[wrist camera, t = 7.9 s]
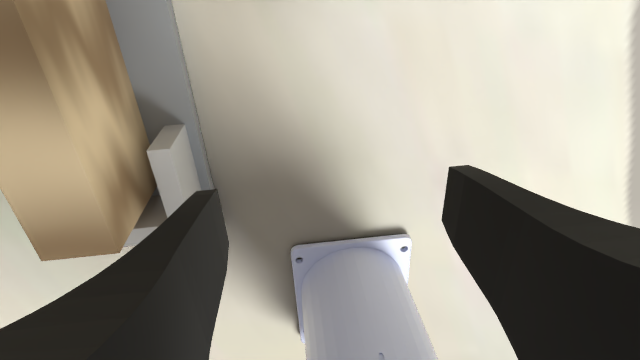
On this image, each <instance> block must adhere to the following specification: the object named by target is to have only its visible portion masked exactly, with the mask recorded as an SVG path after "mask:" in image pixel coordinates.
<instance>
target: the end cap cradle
mask: <svg viewBox="0 0 640 360" xmlns="http://www.w3.org/2000/svg"><path fill="white" fill-rule="evenodd" d="M105 1H106V4H107V7H108V10H109V14H110V17H111V20H112V23H113V27H114V30H115V33H116V36H117V40H118V43H119V46H120V49H121V53H122V56H123V59H124V62H125V66H126V69H127V72H128V75H129V79H130V82H131V85H132V88H133V92H134V95H135V98H136V101H137V105H138V108H139V111H140V114H141V118H142V121H143V124H144V127H145V131H146V134H147V137H148V140H149V144H150V147H149V148H148V149H147V151H146V152H147V155H148V158H149V161H150V164H151V167H152V171H153V174H154V177H155V180H156V183H157V187H156V189H155V190H154V192H153V194H152V196H151V198H150V199H149V201H148V203H147V205H146V207H145V208H144V210H143V212H142V214H141V215H140V217H139V219H138V221H137V223H136V224H135V226H134V228H133V230H132V232H131V233H130V235H129V237H128V239H127V241H126V242H125V244H124V246H123V247H126V246H136V245H137V244H139V243H140V242H141V241H142V240H143V239H145V238H146V237H147V236H148V235H149V234H150V233H152V232H153V231H154V230H155V229H156V228H157V227H159V226H160V225H161V224H162V223H163V222H164V221H165V220H166V219H167V218H168V217H169V216H170V215H171V214H172V213H173V212H175V211H176V210H177V209H178V208H179V207H180V206H181V205H182V204H183V203H184V202H185V201H186V200H187V199H188V198H189V197H190V196H191V195H192V194H193V193H195V192H196V191H202V190H212V189H214V186H213V182H212V177H211V173H210V169H209V164H208V160H207V155H206V151H205V147H204V142H203V138H202V134H201V129H200V125H199V120H198V116H197V112H196V107H195V103H194V98H193V94H192V90H191V85H190V81H189V77H188V72H187V68H186V63H185V59H184V55H183V50H182V46H181V41H180V37H179V33H178V28H177V24H176V20H175V15H174V11H173V6H172V2H171V0H105Z"/></svg>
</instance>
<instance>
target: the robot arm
mask: <svg viewBox="0 0 640 360" xmlns="http://www.w3.org/2000/svg"><path fill="white" fill-rule="evenodd" d="M442 222H443V225H444V227H445V229H446V232H447V234H448V236H449V238H450V240H451V243H452V245H453V247H454V248H455V250H456V252H457V253H458V255H459V256H460V258H461V260H462V261H463V263H464V264H465V266H466V268H467V269H468V271H469V272H470V274H471V275H472V277H473V278H474V280H475V282H476V283H477V285H478V286H479V288H480V289H481V291H482V292H483V294H484V296H485V297H486V299H487V300H488V302H489V303H490V305H491V307H492V308H493V310H494V312H495V314H496V315H497V317H498V319H499V321H500V323H501V325H502V327H503V329H504V331H505V333H506V335H507V337H508V339H509V341H510V343H511V345H512V347H513V349H514V351H515V353H516V356H517V358H518V360H640V229H639V228H636V227H632V226H628V225H624V224H621V223H617V222H614V221H610V220H607V219H604V218H601V217H598V216H594V215H591V214H588V213H585V212H582V211H579V210H576V209H574V208H571V207H568V206H565V205H563V204H560V203H558V202H555V201H553V200H550V199H547V198H545V197H543V196H540V195H538V194H535V193H533V192H531V191H528V190H526V189H524V188H522V187H519V186H517V185H515V184H513V183H510V182H508V181H506V180H504V179H501V178H499V177H497V176H495V175H492V174H490V173H488V172H485V171H483V170H481V169H478V168H475V167H472V166H469V165H464V166H454V167H449V171H448V178H447V186H446V193H445V200H444V207H443V214H442ZM411 245H412V240H411V238H410V236H409V235H407V234H398V235H388V236H379V237H370V238H360V239H351V240H341V241H332V242H322V243H313V244H304V245H296V246H294V247H292V249H291V260H292V269H293V277H294V286H295V294H296V303H297V311H298V319H299V328H300V336H301V341H302V342H303V343H305V350H306V360H438V358H437V355H436V353H435V350H434V348H433V346H432V343H431V341H430V338H429V336H428V334H427V331H426V329H425V326H424V324H423V321H422V319H421V317H420V314H419V312H418V309H417V307H416V305H415V302H414V300H413V297H412V295H411V293H410V290H409V288H408V277H409V266H410V255H411ZM403 246H405V247H404V248H401V247H403ZM228 247H229V241H228V236H227V232H226V227H225V223H224V219H223V214H222V210H221V205H220V201H219V196H218V192H217V189H212V190H202V191H196V192H195V193H193V194H192V195H191V196H190V197H189V198H188V199H187V200H186V201H185V202H184V203H183V204H182V205H181V206H180V207H179V208H178V209H177V210H176V211H175V212H173V213H172V214H171V215H170V216H169V217H168V218H167V219H166V220H165V221H164V222H163V223H162V224H161V225H160V226H159V227H157V228H156V229H155V230H154V231H153V232H152V233H150V234H149V235H148V236H147V237H146V238H145V239H143V240H142V241H141V242H140V243H139V244H137V245H136V246H135V247H134V248H133V249H132V250H130V251H129V252H128V253H126V254H125V255H124V256H122V257H121V258H120V259H118V260H117V261H116V262H114V263H113V264H111V265H110V266H109V267H107V268H106V269H104V270H103V271H102V272H100V273H99V274H97V275H96V276H94V277H93V278H91V279H89V280H88V281H86V282H84V283H83V284H81V285H79V286H78V287H76V288H75V289H73V290H71V291H70V292H68V293H66V294H65V295H63V296H62V297H60V298H58V299H56V300H55V301H53V302H51V303H49V304H48V305H46V306H44V307H42V308H40V309H38V310H36V311H35V312H33V313H31V314H29V315H27V316H25V317H23V318H21V319H19V320H17V321H15V322H13V323H11V324H9V325H7V326H5V327H3V328H1V329H0V360H209V353H210V347H211V341H212V336H213V331H214V327H215V322H216V317H217V313H218V308H219V304H220V299H221V295H222V290H223V286H224V281H225V276H226V271H227V261H228ZM298 257H301V258H302V259H296V258H298Z"/></svg>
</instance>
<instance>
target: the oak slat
mask: <svg viewBox="0 0 640 360" xmlns="http://www.w3.org/2000/svg"><path fill="white" fill-rule="evenodd" d="M149 147H150V144H149V140H148V137H147V134H146V131H145V127H144V124H143V121H142V118H141V114H140V111H139V108H138V105H137V101H136V98H135V95H134V92H133V88H132V85H131V82H130V79H129V75H128V72H127V69H126V66H125V62H124V59H123V56H122V53H121V49H120V46H119V43H118V40H117V36H116V33H115V30H114V27H113V23H112V20H111V17H110V14H109V10H108V7H107V4H106V1H105V0H0V189H1V191H2V192H3V194H4V196H5V198H6V199H7V201H8V203H9V205H10V206H11V208H12V210H13V212H14V213H15V215H16V217H17V219H18V221H19V222H20V224H21V226H22V228H23V229H24V231H25V233H26V235H27V236H28V238H29V240H30V242H31V243H32V245H33V247H34V249H35V250H36V252H37V254H38V256H39V258H40V259H41V261H48V260H57V259H67V258H76V257H86V256H96V255H105V254H115V253H120V251H121V250H122V248H123V246H124V244H125V242H126V241H127V239H128V237H129V235H130V233H131V232H132V230H133V228H134V226H135V224H136V223H137V221H138V219H139V217H140V215H141V214H142V212H143V210H144V208H145V207H146V205H147V203H148V201H149V199H150V198H151V196H152V194H153V192H154V190H155V189H156V187H157V183H156V180H155V177H154V174H153V171H152V167H151V164H150V161H149V158H148V155H147V152H146V151H147V149H148V148H149Z"/></svg>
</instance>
